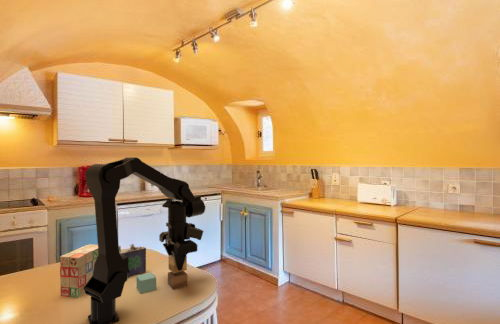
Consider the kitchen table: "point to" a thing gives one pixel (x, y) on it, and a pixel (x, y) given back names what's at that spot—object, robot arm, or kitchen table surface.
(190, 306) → the kitchen table surface
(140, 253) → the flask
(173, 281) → the walnut block
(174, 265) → the oak cube
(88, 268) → the stack of blocks
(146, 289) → the tower base
